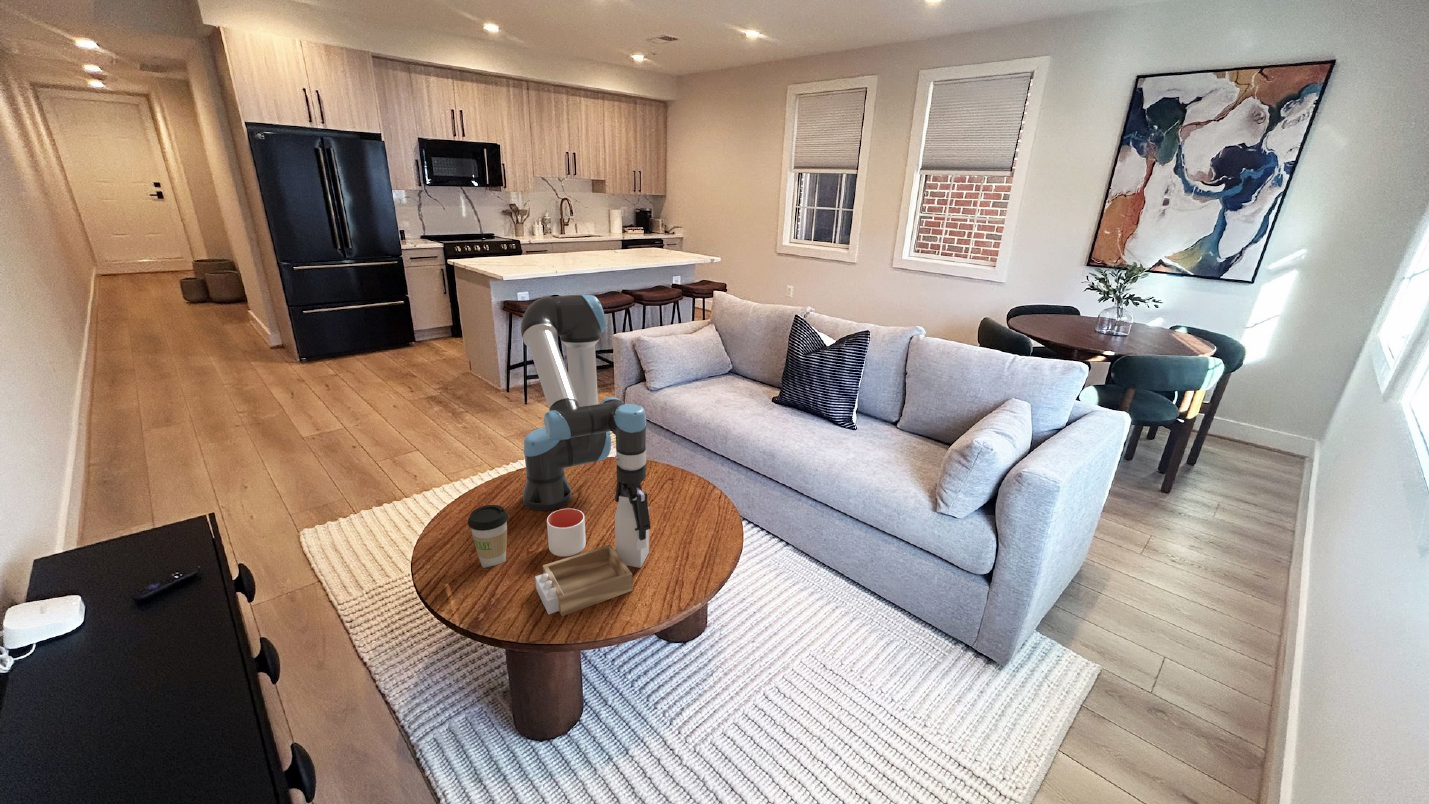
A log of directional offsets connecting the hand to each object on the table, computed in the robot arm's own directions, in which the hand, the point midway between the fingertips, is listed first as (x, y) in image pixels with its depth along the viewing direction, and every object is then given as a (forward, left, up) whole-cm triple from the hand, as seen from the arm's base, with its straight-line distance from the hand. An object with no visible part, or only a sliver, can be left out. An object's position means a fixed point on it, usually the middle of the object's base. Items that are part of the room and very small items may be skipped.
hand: (632, 537), depth 149 cm
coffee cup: (-17, -33, -7) cm, 38 cm away
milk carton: (0, 0, -7) cm, 7 cm away
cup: (-13, -14, -7) cm, 20 cm away
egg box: (+6, -24, -6) cm, 26 cm away
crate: (+6, -15, -7) cm, 17 cm away
